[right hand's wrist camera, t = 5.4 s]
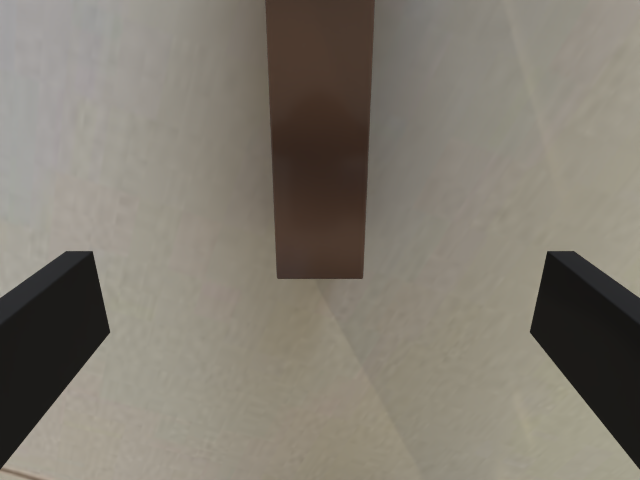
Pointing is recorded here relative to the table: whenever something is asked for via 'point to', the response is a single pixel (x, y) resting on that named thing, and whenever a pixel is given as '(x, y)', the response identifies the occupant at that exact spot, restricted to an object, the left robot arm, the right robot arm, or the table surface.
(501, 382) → the table surface
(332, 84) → the beam
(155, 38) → the table surface
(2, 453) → the right robot arm
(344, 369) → the table surface
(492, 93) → the table surface
